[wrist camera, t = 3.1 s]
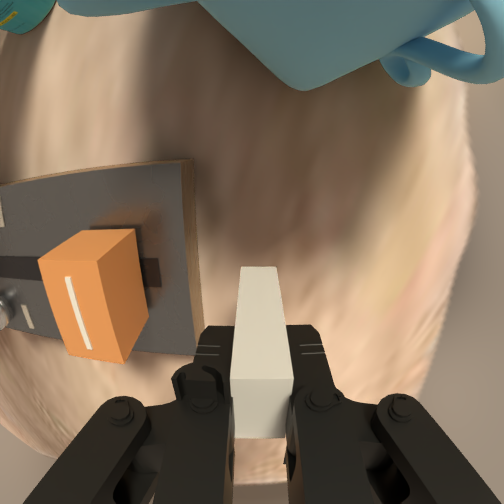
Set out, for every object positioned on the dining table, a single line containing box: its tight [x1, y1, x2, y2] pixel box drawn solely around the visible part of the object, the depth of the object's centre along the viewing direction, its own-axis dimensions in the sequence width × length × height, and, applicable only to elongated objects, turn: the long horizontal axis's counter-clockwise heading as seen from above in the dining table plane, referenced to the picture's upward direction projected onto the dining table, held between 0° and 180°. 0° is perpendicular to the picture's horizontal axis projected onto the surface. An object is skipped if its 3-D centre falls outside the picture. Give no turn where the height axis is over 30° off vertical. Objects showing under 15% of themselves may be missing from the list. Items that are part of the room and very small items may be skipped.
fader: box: [38, 229, 149, 364], centre depth 12 cm, size 5×3×4 cm, turn 0°
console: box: [0, 159, 205, 355], centre depth 15 cm, size 11×18×4 cm, turn 90°
